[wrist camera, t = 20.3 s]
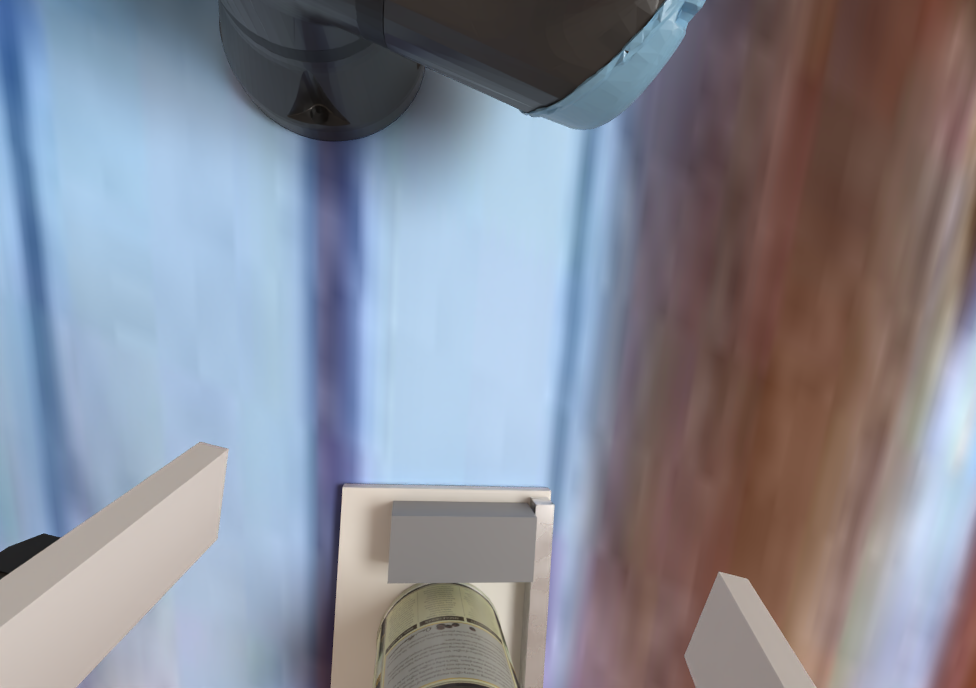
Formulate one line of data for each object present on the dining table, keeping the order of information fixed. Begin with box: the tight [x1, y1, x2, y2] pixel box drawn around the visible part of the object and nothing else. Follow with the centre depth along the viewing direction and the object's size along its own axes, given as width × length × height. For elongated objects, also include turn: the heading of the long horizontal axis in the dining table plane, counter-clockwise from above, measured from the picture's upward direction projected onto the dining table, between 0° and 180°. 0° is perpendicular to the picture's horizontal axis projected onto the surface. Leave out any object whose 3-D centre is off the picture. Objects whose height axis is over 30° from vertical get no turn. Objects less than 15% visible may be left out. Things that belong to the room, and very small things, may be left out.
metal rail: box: [519, 497, 554, 688], centre depth 42 cm, size 2×24×2 cm, turn 176°
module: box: [387, 501, 537, 584], centre depth 40 cm, size 11×5×4 cm, turn 86°
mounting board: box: [331, 484, 551, 688], centre depth 42 cm, size 17×25×1 cm
